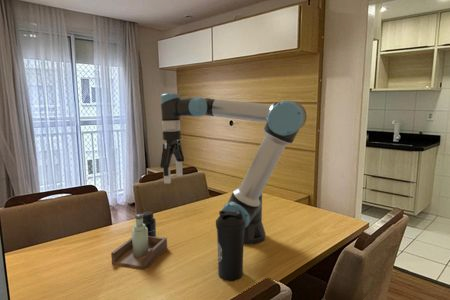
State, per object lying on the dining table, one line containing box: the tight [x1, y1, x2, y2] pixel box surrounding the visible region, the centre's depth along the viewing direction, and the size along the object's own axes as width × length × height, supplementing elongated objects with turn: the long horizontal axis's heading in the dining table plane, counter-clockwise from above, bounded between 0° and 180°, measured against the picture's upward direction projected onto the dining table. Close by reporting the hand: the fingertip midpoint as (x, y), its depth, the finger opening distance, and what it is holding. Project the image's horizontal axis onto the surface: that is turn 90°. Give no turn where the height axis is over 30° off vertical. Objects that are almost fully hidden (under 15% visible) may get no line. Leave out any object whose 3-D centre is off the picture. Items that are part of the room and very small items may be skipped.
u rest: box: [110, 236, 168, 270], centre depth 119 cm, size 14×17×4 cm
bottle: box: [131, 213, 149, 257], centre depth 118 cm, size 6×6×16 cm
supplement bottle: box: [141, 211, 157, 237], centre depth 134 cm, size 7×7×12 cm
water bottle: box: [215, 209, 245, 282], centre depth 104 cm, size 10×10×23 cm
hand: (173, 179), depth 130 cm, fingers open, 13 cm apart
